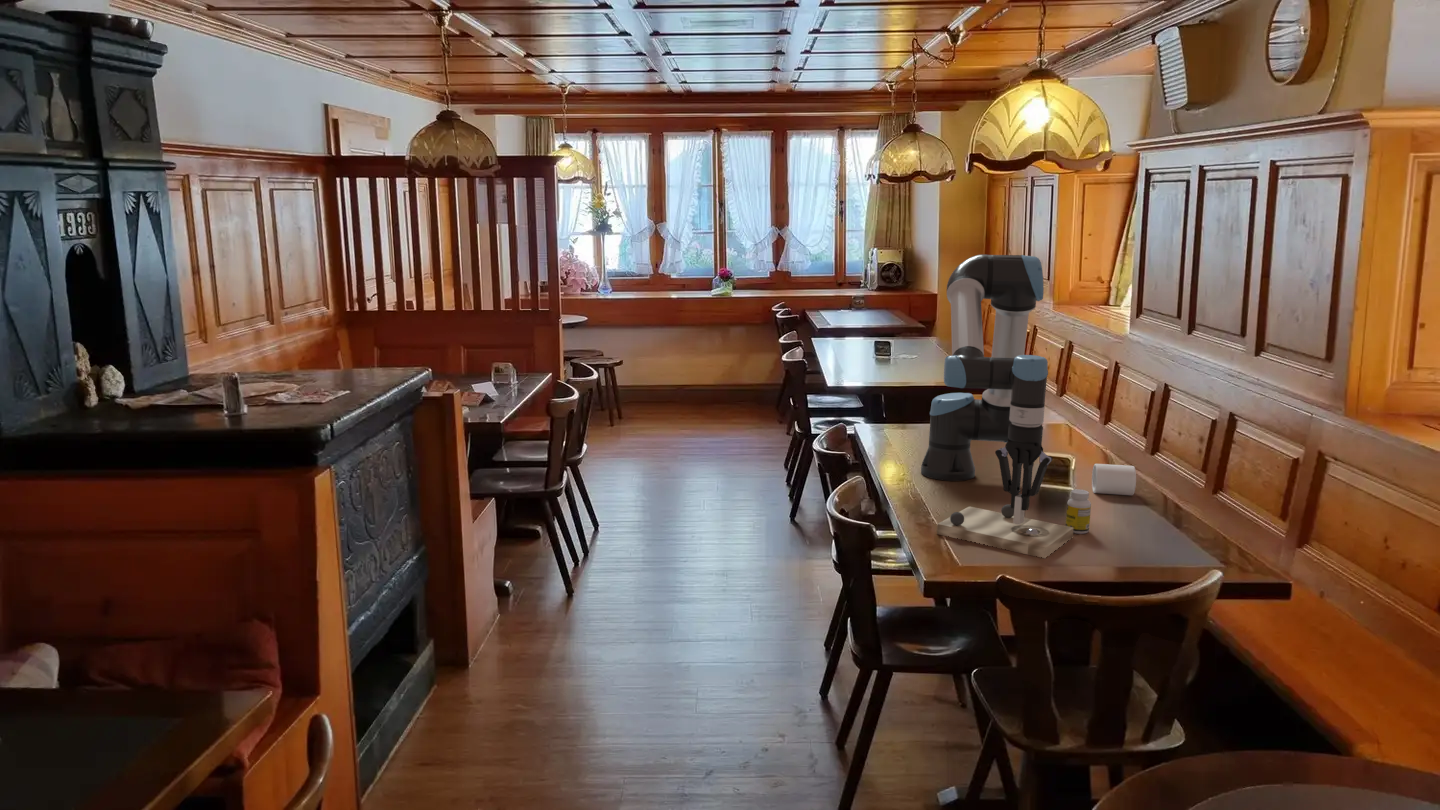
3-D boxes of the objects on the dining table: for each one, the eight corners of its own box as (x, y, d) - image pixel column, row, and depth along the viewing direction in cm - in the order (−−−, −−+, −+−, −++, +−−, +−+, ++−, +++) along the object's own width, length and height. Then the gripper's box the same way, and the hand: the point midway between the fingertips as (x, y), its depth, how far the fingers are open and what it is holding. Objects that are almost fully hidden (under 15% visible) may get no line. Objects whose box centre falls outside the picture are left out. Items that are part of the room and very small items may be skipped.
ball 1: (947, 525, 237) (948, 512, 237) (953, 522, 240) (954, 509, 239) (960, 528, 235) (961, 515, 235) (966, 525, 238) (966, 511, 237)
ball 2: (998, 517, 244) (999, 505, 243) (1003, 514, 246) (1004, 501, 245) (1011, 520, 242) (1012, 507, 241) (1016, 517, 244) (1017, 504, 243)
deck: (936, 534, 239) (937, 523, 238) (968, 515, 253) (969, 506, 252) (1045, 558, 223) (1046, 547, 223) (1072, 537, 237) (1073, 527, 237)
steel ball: (1024, 528, 233) (1037, 534, 231) (1029, 524, 235) (1042, 529, 234) (1021, 540, 234) (1034, 546, 232) (1026, 536, 236) (1039, 541, 235)
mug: (1134, 499, 269) (1137, 470, 268) (1095, 496, 271) (1097, 467, 270) (1126, 486, 281) (1128, 459, 279) (1088, 484, 283) (1090, 456, 281)
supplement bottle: (1061, 527, 245) (1064, 488, 243) (1082, 526, 246) (1086, 488, 244) (1070, 534, 240) (1074, 494, 238) (1092, 534, 240) (1096, 494, 238)
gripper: (992, 422, 232) (985, 520, 236) (1048, 430, 224) (1040, 532, 229) (1005, 417, 237) (998, 513, 242) (1060, 425, 230) (1051, 524, 234)
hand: (1018, 522), depth 235 cm, fingers closed
